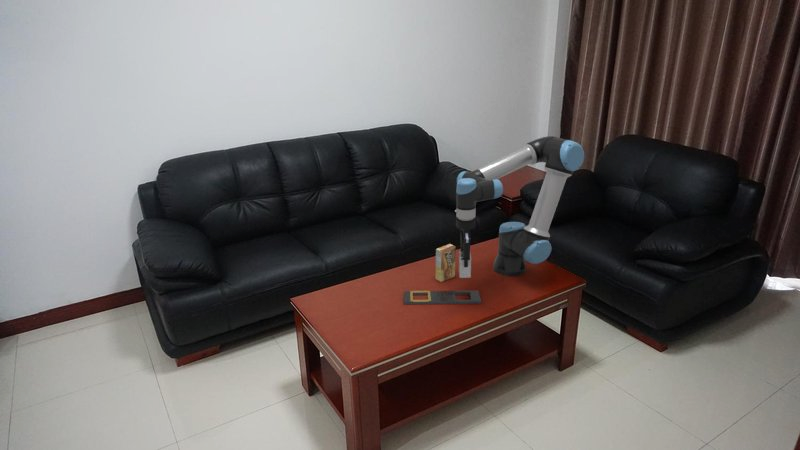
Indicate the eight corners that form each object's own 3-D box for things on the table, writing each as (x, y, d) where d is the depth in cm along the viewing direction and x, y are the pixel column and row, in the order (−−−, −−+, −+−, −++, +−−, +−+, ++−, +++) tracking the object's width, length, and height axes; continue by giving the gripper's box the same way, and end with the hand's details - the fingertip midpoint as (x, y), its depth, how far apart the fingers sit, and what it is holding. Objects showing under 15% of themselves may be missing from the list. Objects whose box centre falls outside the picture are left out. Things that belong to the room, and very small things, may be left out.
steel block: (469, 272, 207) (469, 250, 203) (470, 277, 202) (471, 255, 199) (458, 272, 207) (458, 251, 203) (459, 277, 202) (460, 255, 199)
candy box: (448, 273, 230) (449, 243, 225) (455, 276, 227) (456, 246, 222) (435, 279, 225) (435, 248, 220) (441, 282, 222) (442, 251, 216)
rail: (478, 293, 212) (478, 290, 212) (481, 303, 204) (481, 300, 203) (403, 293, 213) (403, 290, 212) (403, 304, 204) (403, 301, 204)
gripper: (454, 210, 203) (453, 261, 212) (458, 225, 187) (457, 280, 196) (472, 209, 203) (471, 260, 212) (478, 225, 187) (476, 280, 195)
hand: (464, 270), depth 204 cm, fingers closed on steel block, 4 cm apart
